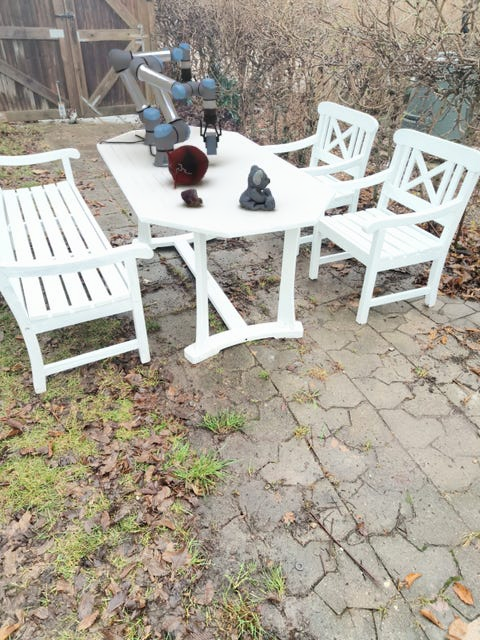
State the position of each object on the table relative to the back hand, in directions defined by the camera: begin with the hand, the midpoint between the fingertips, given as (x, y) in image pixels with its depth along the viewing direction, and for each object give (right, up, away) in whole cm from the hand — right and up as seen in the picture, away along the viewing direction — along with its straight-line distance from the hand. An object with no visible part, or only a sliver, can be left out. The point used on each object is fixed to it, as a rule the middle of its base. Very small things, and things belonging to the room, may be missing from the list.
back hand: (187, 99), depth 346 cm
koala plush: (+49, -112, -117) cm, 169 cm away
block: (+22, -64, -61) cm, 91 cm away
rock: (+15, -111, -115) cm, 161 cm away
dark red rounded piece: (+11, -90, -84) cm, 123 cm away
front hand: (+22, -61, -63) cm, 90 cm away
